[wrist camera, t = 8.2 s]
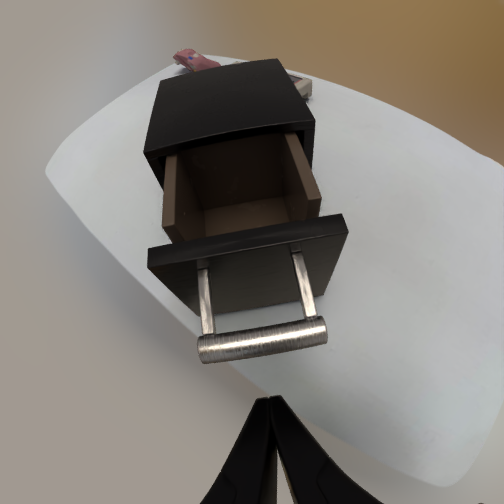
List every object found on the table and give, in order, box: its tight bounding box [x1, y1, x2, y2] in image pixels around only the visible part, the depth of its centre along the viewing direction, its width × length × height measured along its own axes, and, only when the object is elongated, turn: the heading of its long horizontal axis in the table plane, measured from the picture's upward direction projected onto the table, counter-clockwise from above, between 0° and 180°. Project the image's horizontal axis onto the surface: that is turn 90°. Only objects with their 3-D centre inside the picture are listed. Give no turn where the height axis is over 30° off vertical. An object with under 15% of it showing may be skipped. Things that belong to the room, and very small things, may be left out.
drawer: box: [147, 131, 349, 364], centre depth 19 cm, size 15×10×10 cm
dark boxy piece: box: [143, 59, 315, 191], centre depth 24 cm, size 12×12×12 cm
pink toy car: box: [173, 49, 221, 72], centre depth 43 cm, size 10×5×7 cm, turn 39°
